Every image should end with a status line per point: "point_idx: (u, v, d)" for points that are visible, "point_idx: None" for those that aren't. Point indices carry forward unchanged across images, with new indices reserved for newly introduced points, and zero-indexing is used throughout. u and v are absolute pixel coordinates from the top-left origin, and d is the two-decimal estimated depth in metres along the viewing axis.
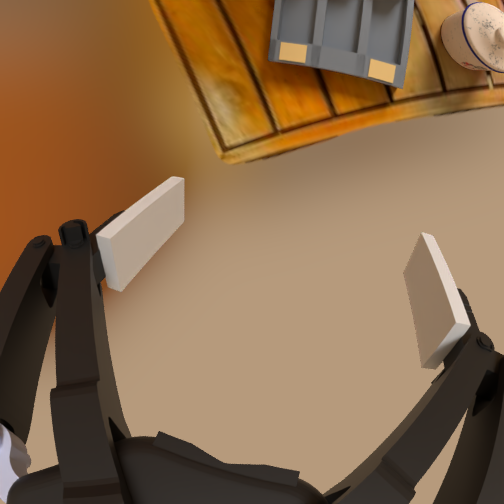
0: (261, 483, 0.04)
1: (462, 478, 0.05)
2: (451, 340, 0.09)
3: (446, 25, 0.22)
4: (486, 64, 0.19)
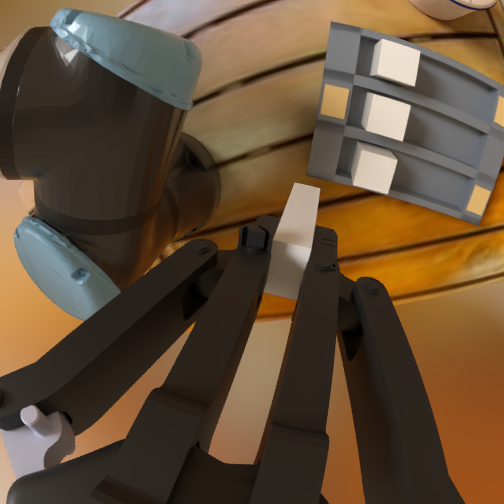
0: None
1: (373, 432, 0.06)
2: (297, 265, 0.12)
3: (435, 12, 0.17)
4: None
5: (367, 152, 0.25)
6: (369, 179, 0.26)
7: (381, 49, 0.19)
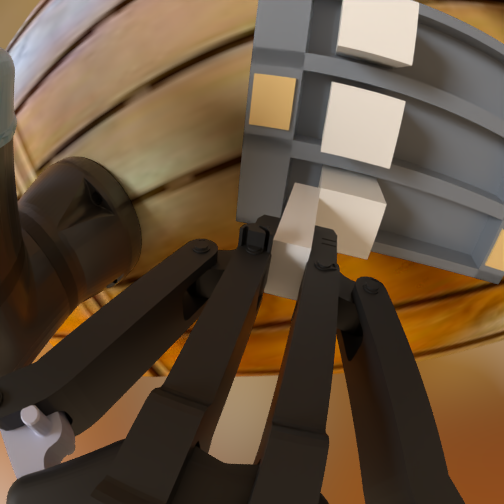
0: None
1: (373, 432, 0.06)
2: (296, 265, 0.12)
3: None
4: None
5: (331, 192, 0.15)
6: None
7: (344, 0, 0.09)
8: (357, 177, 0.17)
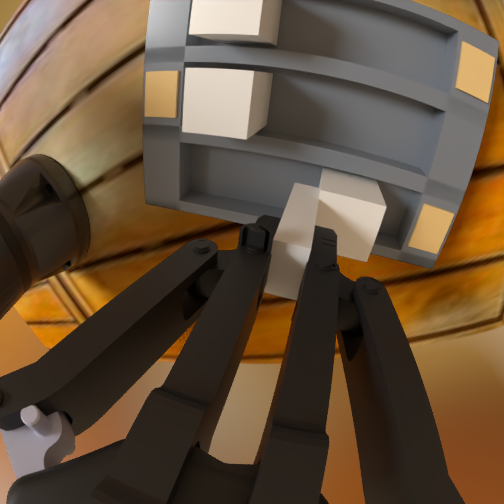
0: None
1: (373, 432, 0.06)
2: (297, 265, 0.12)
3: None
4: None
5: (331, 194, 0.15)
6: None
7: None
8: (357, 179, 0.17)
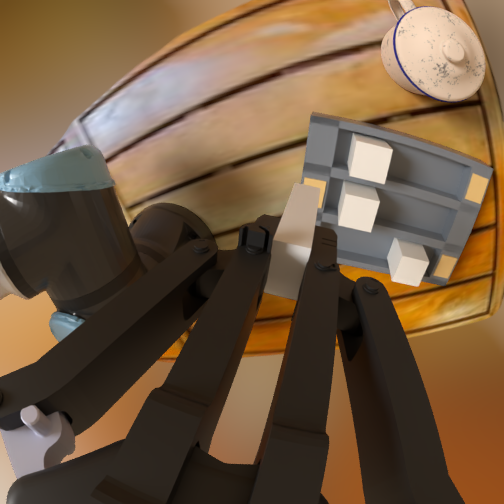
0: None
1: (373, 432, 0.06)
2: (297, 265, 0.12)
3: (416, 92, 0.24)
4: (482, 79, 0.16)
5: (406, 257, 0.30)
6: (405, 276, 0.31)
7: (355, 151, 0.25)
8: (413, 244, 0.32)
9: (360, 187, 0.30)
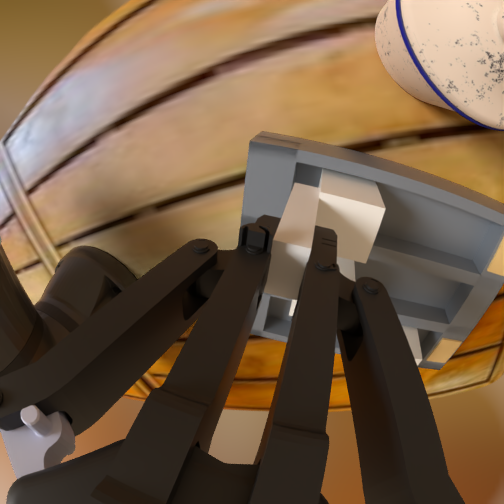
0: None
1: (373, 432, 0.06)
2: (297, 265, 0.12)
3: (432, 103, 0.14)
4: None
5: None
6: None
7: (317, 209, 0.15)
8: (404, 327, 0.22)
9: None
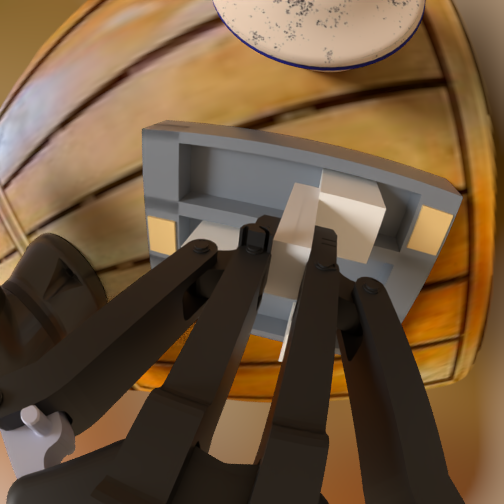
0: None
1: (373, 432, 0.06)
2: (297, 265, 0.12)
3: None
4: (420, 15, 0.07)
5: None
6: None
7: (317, 209, 0.15)
8: None
9: (222, 230, 0.21)
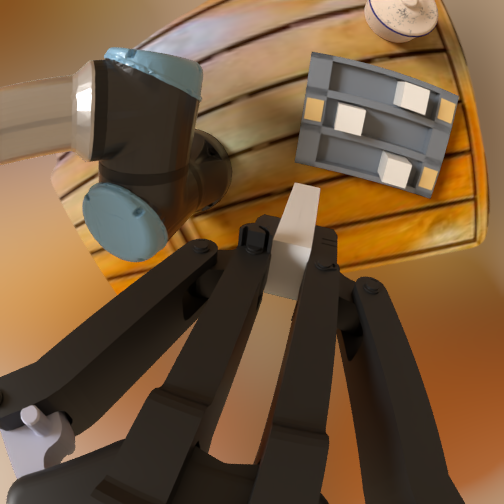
0: None
1: (373, 432, 0.06)
2: (297, 265, 0.12)
3: (391, 38, 0.29)
4: (436, 22, 0.21)
5: (392, 159, 0.35)
6: (392, 178, 0.37)
7: (404, 89, 0.30)
8: (398, 156, 0.38)
9: (351, 105, 0.35)
